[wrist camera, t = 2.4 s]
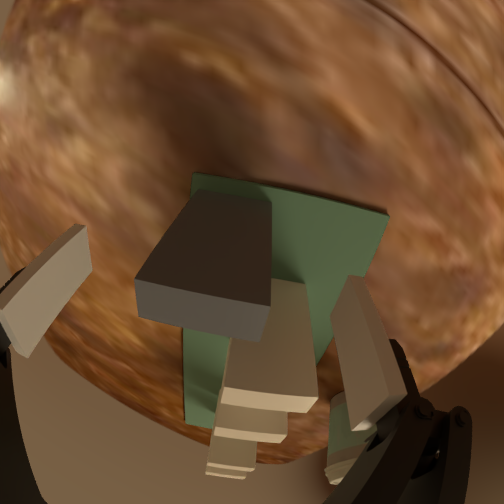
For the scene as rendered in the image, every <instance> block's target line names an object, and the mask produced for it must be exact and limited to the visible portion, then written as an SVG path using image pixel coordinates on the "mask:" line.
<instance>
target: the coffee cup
mask: <svg viewBox="0 0 504 504" xmlns="http://www.w3.org/2000/svg"><path fill="white" fill-rule="evenodd" d="M375 431H377V426H376V424H374V425H373V426H372V427H371V428H370V429H368V430H358V431H351V427H350V420H349V414H348V408H347V401H346V396H345V391H343V392H341V393H339V394H337V395H335V396H334V397H333V398H332V399H331V401H330V421H329V442H328V457H327V468H325V470H324V471H325V472H326V476H327V477H328V480H329V482H330V483H331V484H339V483H340V482H341V480H342V479H343V478H344V476H345V475H346V474H347V472H348V471H349V470H350V468H351V467H352V466H353V464H354V463H355V461H356V460H357V458H358V457H359V455H360V454H361V453H362V451H363V449H364V448H365V446H366V445H367V443H368V442H369V441H367V442H364V441H365V440H366V439H367V438H368V437H369V436H370V435H372V434H373V433H374V432H375Z"/></svg>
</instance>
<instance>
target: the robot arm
mask: <svg viewBox="0 0 504 504" xmlns="http://www.w3.org/2000/svg"><path fill="white" fill-rule="evenodd" d="M91 272H92V264H91V258H90V251H89V244H88V236H87V227H86V226H85V225H80V224H74V225H73V226H72V227H71V228H69V229H68V230H67V231H66V232H65V233H63V234H62V235H61V236H60V237H59V238H57V239H56V240H55V241H54V242H53V243H52V244H51V245H49V246H48V247H47V248H46V249H45V250H44V251H43V252H42V253H41V254H40V255H38V256H37V257H36V258H35V259H34V260H33V261H32V262H31V263H30V264H29V265H28V266H27V267H24V268H23V269H21V270H19V271H18V272H16V273H15V274H14V275H13V276H12V277H11V278H10V280H8V281H7V282H6V283H5V286H3V287H2V288H1V289H0V504H47V502H45V501H44V499H43V498H42V496H41V494H40V491H39V489H38V486H37V484H36V481H35V478H34V475H33V473H32V469H31V466H30V463H29V460H28V456H27V453H26V449H25V446H24V442H23V438H22V434H21V429H20V424H19V420H18V414H17V409H16V402H15V395H14V388H13V380H12V368H11V353H10V349H9V348H8V347H9V345H10V344H12V345H13V347H14V349H15V350H16V352H18V353H19V354H21V355H23V356H24V357H26V358H28V357H29V356H30V354H31V352H32V351H33V349H34V348H35V346H36V345H37V343H38V342H39V340H40V339H41V337H42V336H43V335H44V333H45V332H46V330H47V329H48V327H49V326H50V325H51V323H52V322H53V320H54V319H55V318H56V316H57V315H58V314H59V312H60V311H61V309H62V308H63V307H64V305H65V304H66V303H67V302H68V300H69V299H70V298H71V296H72V295H73V294H74V293H75V291H76V290H77V289H78V288H79V286H80V285H81V284H82V283H83V281H84V280H85V279H86V278H87V276H88V275H89V274H90V273H91ZM330 320H331V325H332V329H333V334H334V339H335V343H336V348H337V353H338V358H339V363H340V368H341V373H342V379H343V384H344V390H345V396H346V401H347V408H348V414H349V420H350V427H351V431H358V430H368V429H370V428H371V427H372V426H373V425H374V424H376V426H377V431H375V432H374V433H373V434H372V435H370V436H369V437H368V438H367V439H366V440H365V441H364V442H367V441H369V442H368V443H367V445H366V446H365V448H364V449H363V451H362V453H361V454H360V455H359V457H358V458H357V460H356V461H355V463H354V464H353V466H352V467H351V468H350V470H349V471H348V472H347V474H346V475H345V476H344V478H343V479H342V480H341V482H340V483H339V484H338V486H337V487H336V488H335V489H334V491H333V492H332V493H331V494H330V495H329V497H328V498H327V499H326V500H325V501H324V503H323V504H464V502H465V497H466V491H467V485H468V478H469V470H470V459H471V445H472V419H471V416H470V413H469V412H468V411H467V410H466V409H465V408H464V407H461V406H457V407H454V408H453V409H452V410H451V411H450V412H448V413H447V412H442V411H438V410H435V408H434V407H433V405H432V403H431V402H429V401H428V400H427V399H425V398H423V397H420V395H419V392H418V389H417V386H416V383H415V380H414V377H413V375H412V372H411V369H410V368H409V364H408V361H407V360H406V356H405V353H404V351H403V348H402V347H401V346H400V345H399V343H398V342H397V341H396V340H395V339H388V337H387V334H386V331H385V329H384V326H383V324H382V321H381V319H380V316H379V314H378V311H377V309H376V307H375V304H374V302H373V300H372V297H371V295H370V293H369V290H368V288H367V286H366V283H365V281H364V279H363V277H360V276H355V275H348V277H347V280H346V282H345V284H344V286H343V289H342V291H341V293H340V295H339V297H338V300H337V302H336V304H335V306H334V308H333V310H332V312H331V315H330ZM438 452H439V456H438Z"/></svg>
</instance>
